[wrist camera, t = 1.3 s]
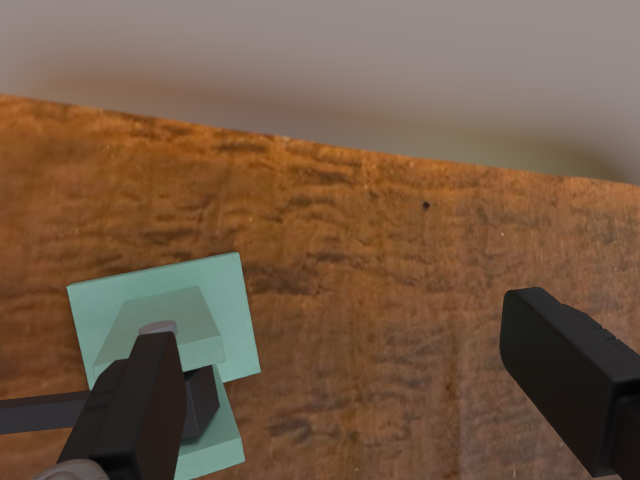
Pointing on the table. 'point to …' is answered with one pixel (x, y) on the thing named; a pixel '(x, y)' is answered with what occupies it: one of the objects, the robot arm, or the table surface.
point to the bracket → (191, 335)
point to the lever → (69, 405)
